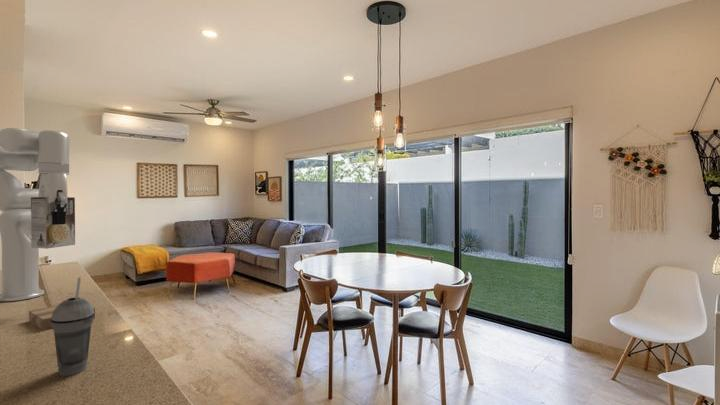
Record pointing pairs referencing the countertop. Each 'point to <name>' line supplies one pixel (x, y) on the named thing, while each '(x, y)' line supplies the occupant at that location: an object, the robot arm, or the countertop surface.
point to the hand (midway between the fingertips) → (53, 223)
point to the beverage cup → (72, 333)
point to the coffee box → (43, 228)
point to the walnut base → (43, 317)
